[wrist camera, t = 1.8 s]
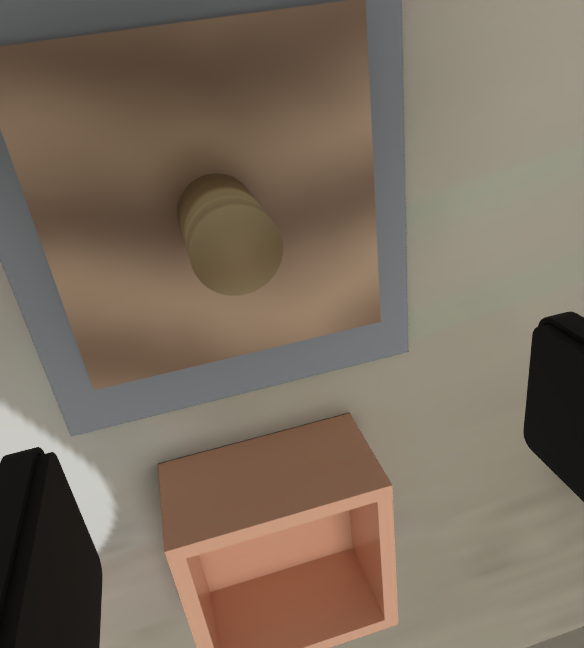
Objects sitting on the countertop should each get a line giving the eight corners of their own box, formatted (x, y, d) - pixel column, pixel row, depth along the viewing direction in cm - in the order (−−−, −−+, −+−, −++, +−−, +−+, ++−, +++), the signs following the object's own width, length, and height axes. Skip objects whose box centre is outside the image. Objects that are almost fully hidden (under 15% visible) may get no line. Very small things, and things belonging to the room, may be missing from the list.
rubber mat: (-116, -44, 18) (-122, -46, 18) (394, -97, 21) (399, -99, 21) (71, 430, 28) (71, 436, 27) (404, 347, 31) (408, 351, 30)
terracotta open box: (158, 464, 30) (164, 552, 25) (349, 413, 32) (392, 485, 27) (198, 593, 35) (210, 688, 30) (360, 543, 37) (398, 624, 32)
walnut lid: (-20, 49, 20) (-75, 52, 14) (354, -1, 22) (427, -13, 17) (95, 376, 26) (86, 462, 21) (371, 311, 29) (427, 374, 23)
